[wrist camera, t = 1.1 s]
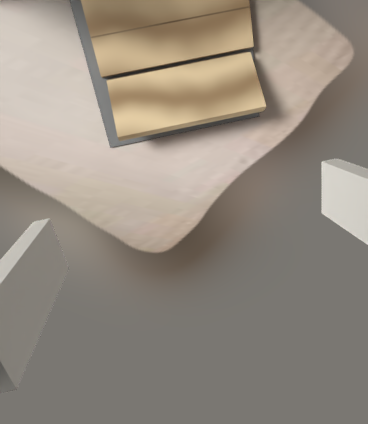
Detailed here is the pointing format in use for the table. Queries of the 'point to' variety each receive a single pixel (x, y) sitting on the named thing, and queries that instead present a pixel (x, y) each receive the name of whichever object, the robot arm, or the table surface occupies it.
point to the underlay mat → (101, 83)
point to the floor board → (164, 31)
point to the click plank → (185, 95)
